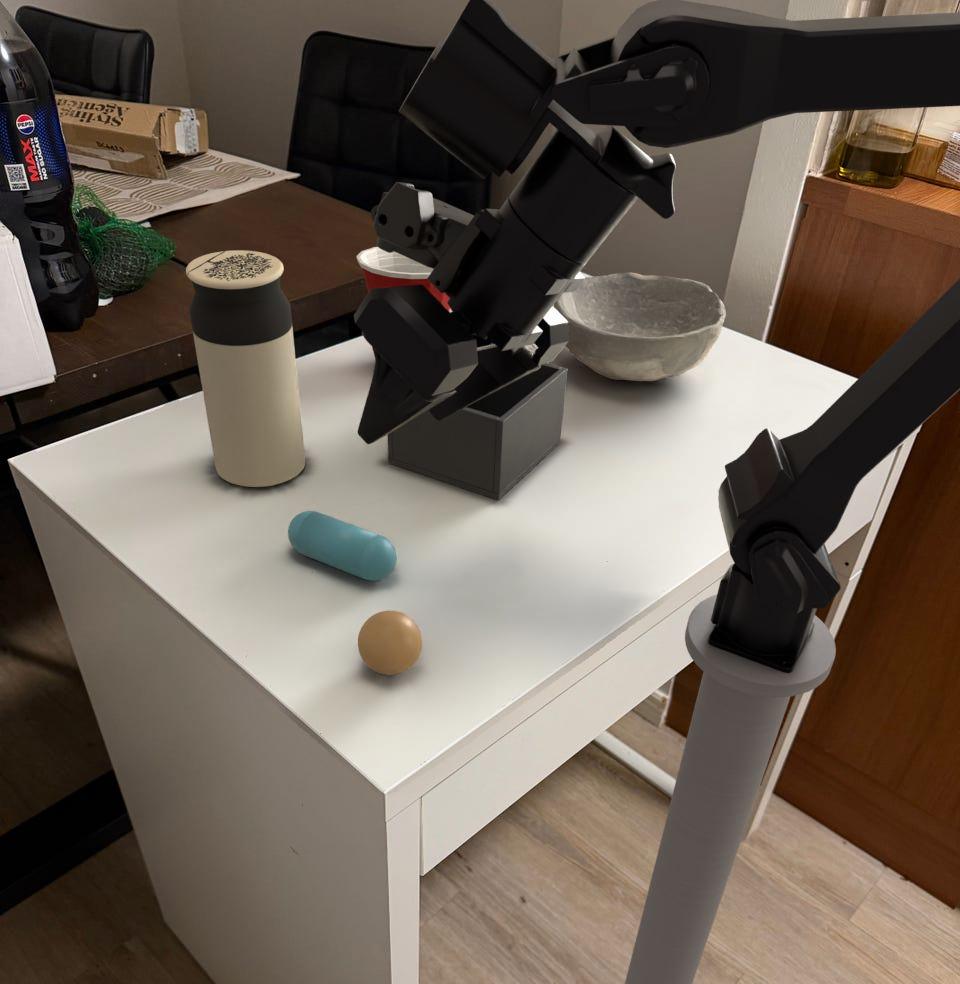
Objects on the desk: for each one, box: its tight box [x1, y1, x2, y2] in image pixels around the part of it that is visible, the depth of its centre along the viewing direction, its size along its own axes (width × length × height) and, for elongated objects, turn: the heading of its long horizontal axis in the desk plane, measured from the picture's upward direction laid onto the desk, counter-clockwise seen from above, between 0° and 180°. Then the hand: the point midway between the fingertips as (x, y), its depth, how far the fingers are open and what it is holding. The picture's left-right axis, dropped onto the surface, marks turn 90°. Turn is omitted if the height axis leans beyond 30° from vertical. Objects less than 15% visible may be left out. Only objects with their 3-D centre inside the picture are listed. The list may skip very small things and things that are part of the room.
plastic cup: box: [356, 246, 451, 312], centre depth 99 cm, size 11×11×12 cm
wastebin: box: [386, 363, 569, 501], centre depth 87 cm, size 12×12×8 cm
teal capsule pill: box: [287, 510, 398, 582], centre depth 74 cm, size 10×4×4 cm, turn 60°
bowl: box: [553, 272, 727, 382], centre depth 102 cm, size 18×18×8 cm
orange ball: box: [357, 610, 423, 676], centre depth 65 cm, size 4×4×4 cm
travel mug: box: [185, 249, 306, 488], centre depth 80 cm, size 8×8×18 cm
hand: (401, 426), depth 63 cm, fingers open, 9 cm apart
